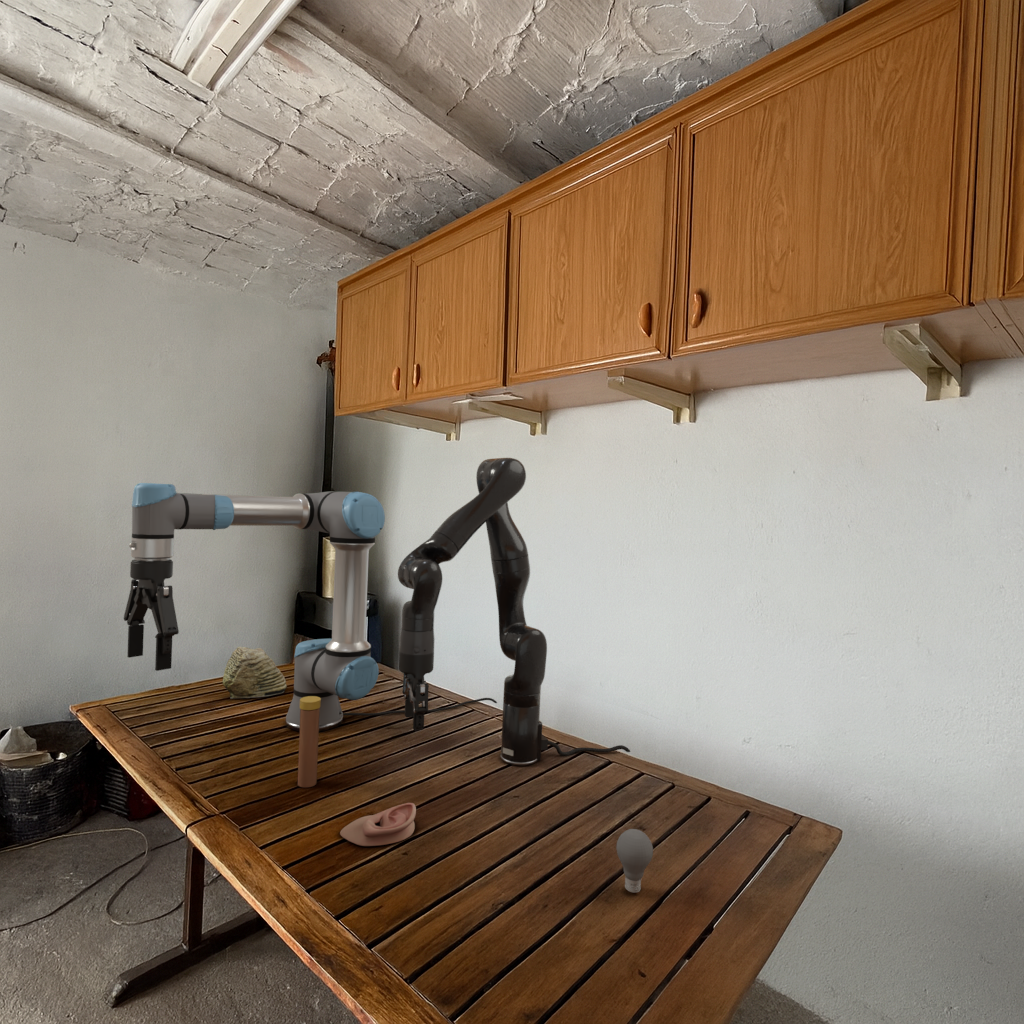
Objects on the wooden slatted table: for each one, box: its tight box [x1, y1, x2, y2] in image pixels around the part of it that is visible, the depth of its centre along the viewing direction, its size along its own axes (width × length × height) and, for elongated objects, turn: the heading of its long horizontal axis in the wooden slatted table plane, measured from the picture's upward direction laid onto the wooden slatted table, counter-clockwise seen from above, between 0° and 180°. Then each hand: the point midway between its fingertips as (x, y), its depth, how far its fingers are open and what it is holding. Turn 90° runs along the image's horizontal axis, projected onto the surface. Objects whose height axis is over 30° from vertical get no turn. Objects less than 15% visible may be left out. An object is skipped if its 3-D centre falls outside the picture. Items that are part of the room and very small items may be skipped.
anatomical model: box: [339, 802, 417, 847], centre depth 121 cm, size 13×4×12 cm
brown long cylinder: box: [297, 708, 320, 789], centre depth 139 cm, size 4×4×18 cm
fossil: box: [222, 646, 288, 699], centre depth 198 cm, size 9×18×15 cm, turn 132°
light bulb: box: [615, 828, 654, 894], centre depth 106 cm, size 6×6×10 cm
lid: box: [300, 696, 321, 710], centre depth 139 cm, size 4×4×2 cm
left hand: (148, 662), depth 129 cm, fingers open, 13 cm apart
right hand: (413, 723), depth 138 cm, fingers open, 8 cm apart
